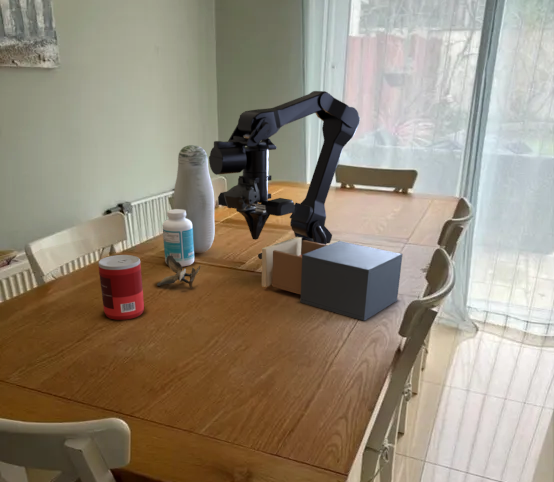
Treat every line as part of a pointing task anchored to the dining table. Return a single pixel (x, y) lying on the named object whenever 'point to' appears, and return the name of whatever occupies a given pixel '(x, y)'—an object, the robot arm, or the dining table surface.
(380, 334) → the dining table surface
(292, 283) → the drawer
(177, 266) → the eagle figurine
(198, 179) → the white tall rounded cylinder
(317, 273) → the dark grey rectangular block
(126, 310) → the canned food
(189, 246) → the pill bottle
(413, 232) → the dining table surface
